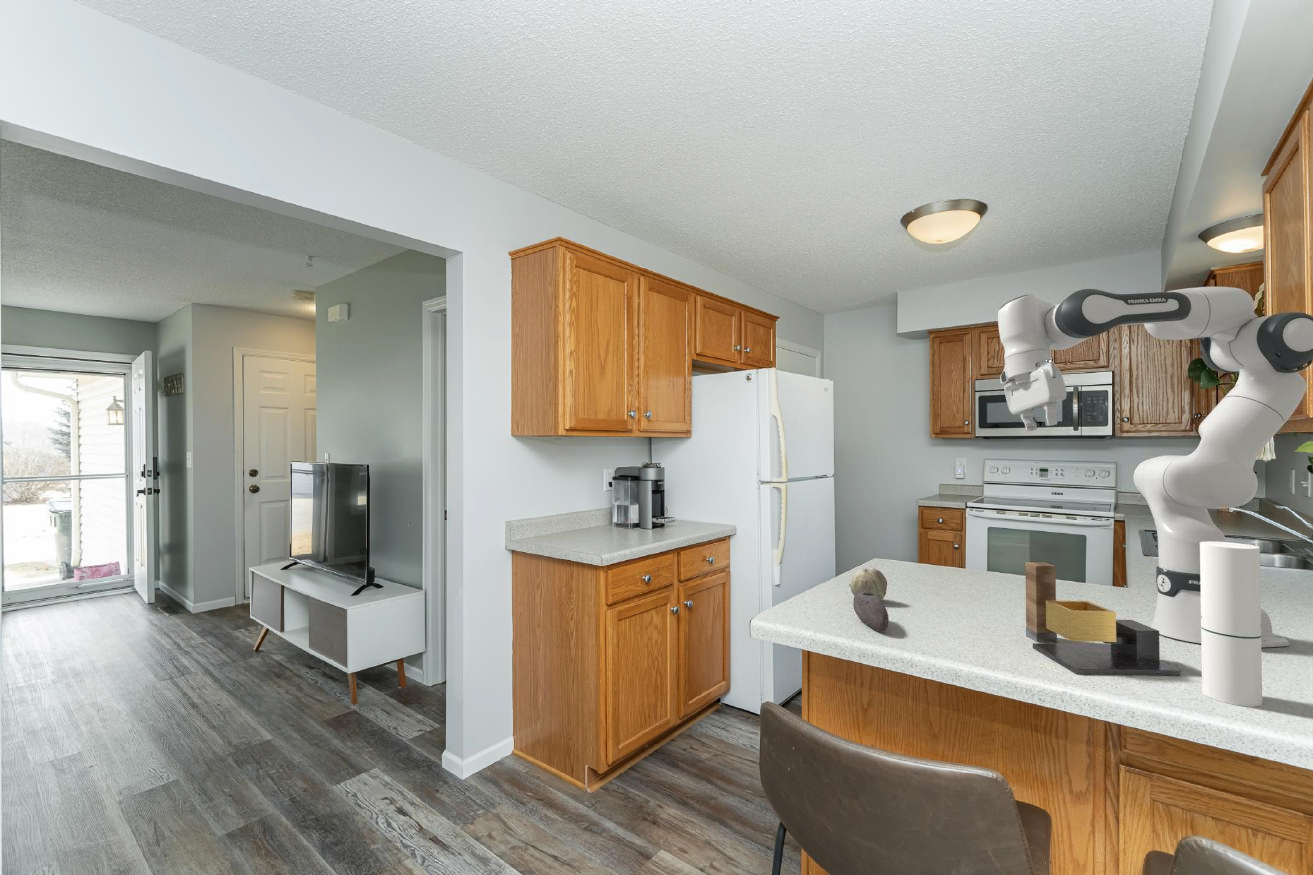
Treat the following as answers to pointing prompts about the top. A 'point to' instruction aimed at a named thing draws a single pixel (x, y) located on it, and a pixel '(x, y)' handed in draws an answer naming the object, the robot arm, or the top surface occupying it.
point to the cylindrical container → (1231, 623)
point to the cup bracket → (1124, 640)
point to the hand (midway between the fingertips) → (1041, 428)
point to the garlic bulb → (869, 582)
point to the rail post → (1039, 599)
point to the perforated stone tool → (870, 610)
